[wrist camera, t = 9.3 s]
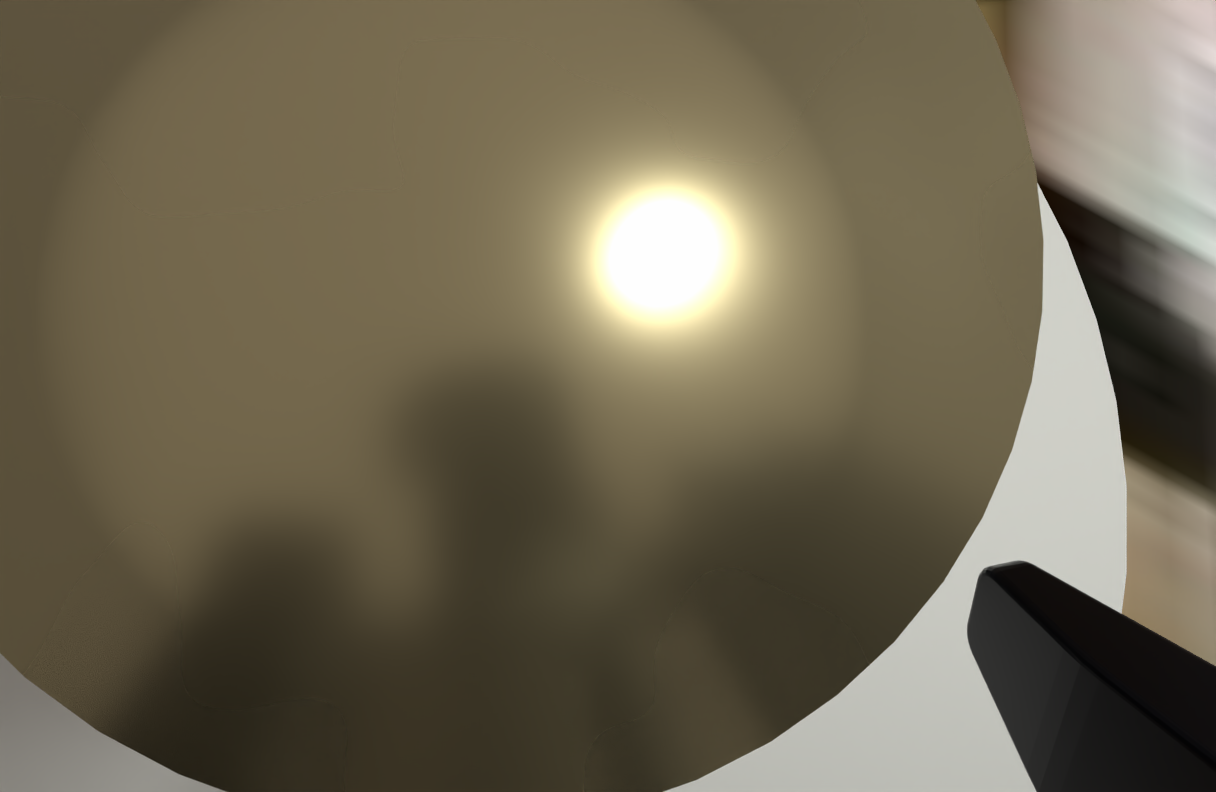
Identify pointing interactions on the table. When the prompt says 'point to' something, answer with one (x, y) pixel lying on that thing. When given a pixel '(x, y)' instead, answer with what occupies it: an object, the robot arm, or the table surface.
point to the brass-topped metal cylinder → (495, 372)
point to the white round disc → (894, 682)
